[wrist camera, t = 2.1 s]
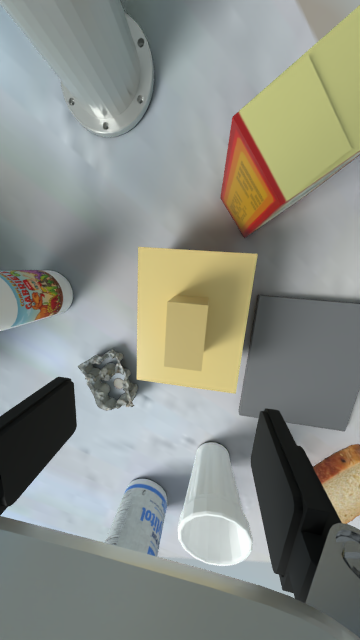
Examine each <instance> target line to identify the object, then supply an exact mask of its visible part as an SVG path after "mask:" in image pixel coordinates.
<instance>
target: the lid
mask: <svg viewBox="0 0 360 640" xmlns="http://www.w3.org/2000/svg"><path fill="white" fill-rule="evenodd" d="M257 255H258V254H250V253H233V252H216V251H198V250H181V249H164V248H147V247H138V314H137V380H143V381H150V382H158V383H165V384H172V385H179V386H186V387H193V388H200V389H207V390H214V391H221V392H228V393H235V394H236V388H237V381H238V375H239V369H240V362H241V356H242V350H243V344H244V337H245V331H246V325H247V318H248V312H249V306H250V299H251V293H252V287H253V281H254V274H255V268H256V262H257Z"/></svg>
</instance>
